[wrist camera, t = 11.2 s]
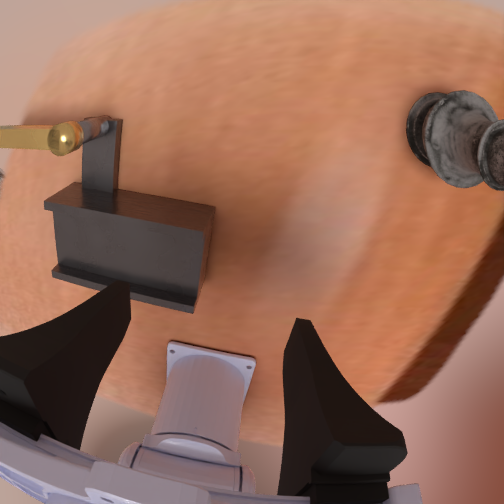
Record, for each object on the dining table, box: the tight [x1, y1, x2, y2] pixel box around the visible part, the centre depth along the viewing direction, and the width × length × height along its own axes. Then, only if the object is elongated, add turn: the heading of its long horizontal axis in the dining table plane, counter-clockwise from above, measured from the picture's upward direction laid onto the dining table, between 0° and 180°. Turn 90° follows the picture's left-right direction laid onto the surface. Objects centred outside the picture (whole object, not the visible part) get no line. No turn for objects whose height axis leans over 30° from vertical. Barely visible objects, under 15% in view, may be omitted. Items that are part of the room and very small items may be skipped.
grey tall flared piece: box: [406, 90, 504, 191], centre depth 13 cm, size 6×6×12 cm
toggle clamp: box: [44, 115, 215, 314], centre depth 20 cm, size 11×11×4 cm
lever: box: [0, 121, 84, 156], centre depth 14 cm, size 10×2×2 cm, turn 80°
